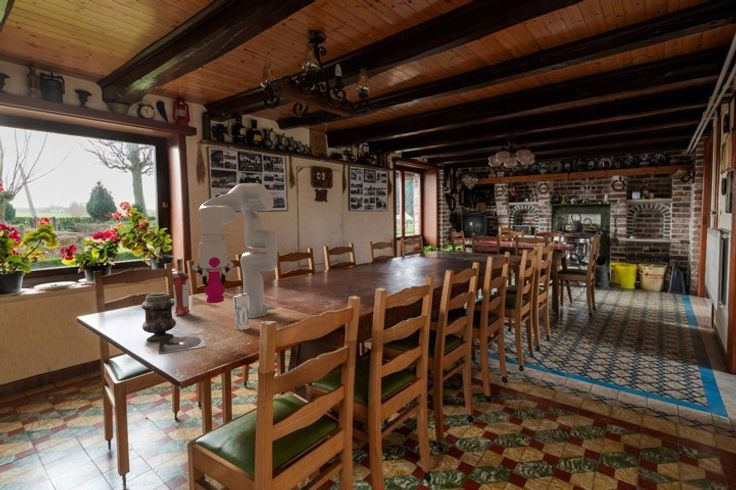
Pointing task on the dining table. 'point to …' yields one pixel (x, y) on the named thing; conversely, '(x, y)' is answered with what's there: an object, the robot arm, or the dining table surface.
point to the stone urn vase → (158, 316)
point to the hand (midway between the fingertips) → (214, 284)
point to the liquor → (181, 290)
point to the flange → (182, 344)
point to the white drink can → (241, 310)
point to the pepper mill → (214, 283)
